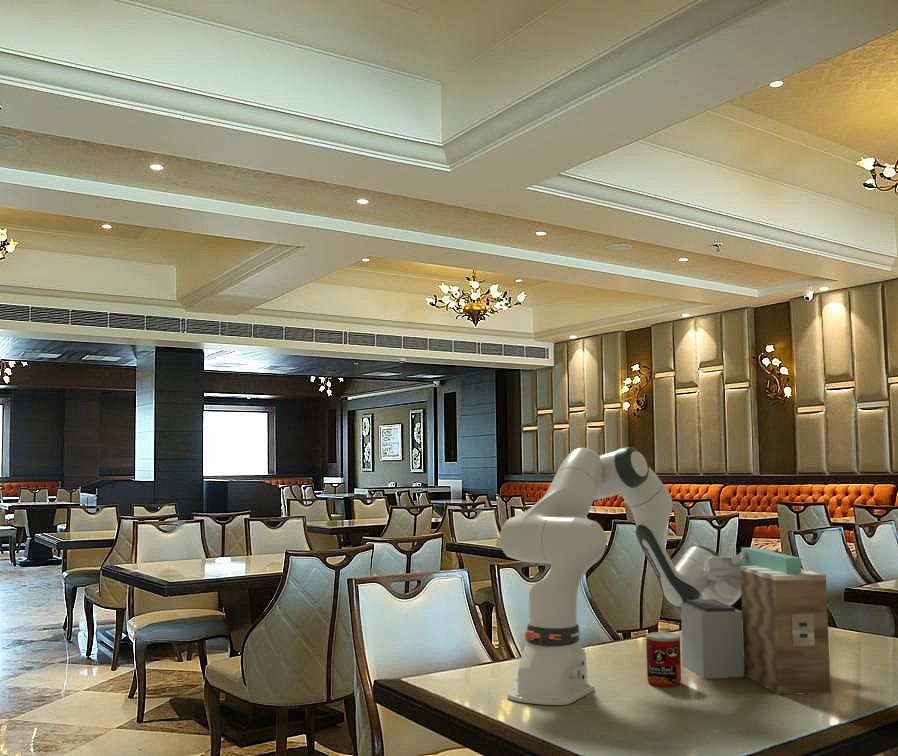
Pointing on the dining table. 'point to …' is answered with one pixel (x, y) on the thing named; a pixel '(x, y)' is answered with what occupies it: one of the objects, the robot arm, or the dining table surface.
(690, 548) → the robot arm
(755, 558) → the long teal bar
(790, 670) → the stand
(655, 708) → the dining table surface
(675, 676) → the canned food
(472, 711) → the dining table surface
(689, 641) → the phone dock
